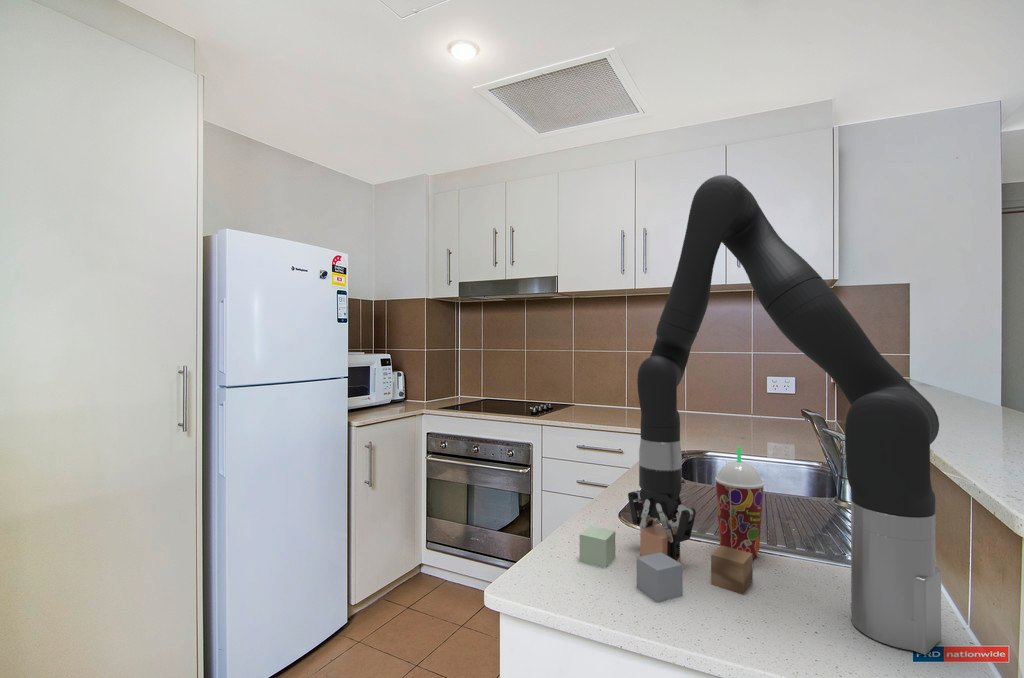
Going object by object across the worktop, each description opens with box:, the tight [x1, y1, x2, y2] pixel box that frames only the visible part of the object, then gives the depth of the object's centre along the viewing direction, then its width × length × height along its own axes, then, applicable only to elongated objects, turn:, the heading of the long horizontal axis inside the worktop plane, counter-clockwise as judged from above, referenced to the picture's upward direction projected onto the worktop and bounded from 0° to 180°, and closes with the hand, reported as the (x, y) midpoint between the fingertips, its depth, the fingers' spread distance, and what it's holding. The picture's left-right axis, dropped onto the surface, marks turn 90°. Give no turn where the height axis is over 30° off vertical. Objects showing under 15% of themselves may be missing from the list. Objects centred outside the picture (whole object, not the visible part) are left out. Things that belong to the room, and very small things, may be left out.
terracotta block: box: [639, 523, 681, 562], centre depth 91 cm, size 5×5×5 cm
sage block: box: [579, 525, 616, 569], centre depth 90 cm, size 5×5×5 cm
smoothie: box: [714, 446, 765, 559], centre depth 93 cm, size 8×8×20 cm
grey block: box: [636, 552, 684, 603], centre depth 79 cm, size 5×5×5 cm
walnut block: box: [710, 545, 754, 596], centre depth 81 cm, size 5×5×5 cm
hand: (660, 555), depth 91 cm, fingers closed on terracotta block, 5 cm apart
